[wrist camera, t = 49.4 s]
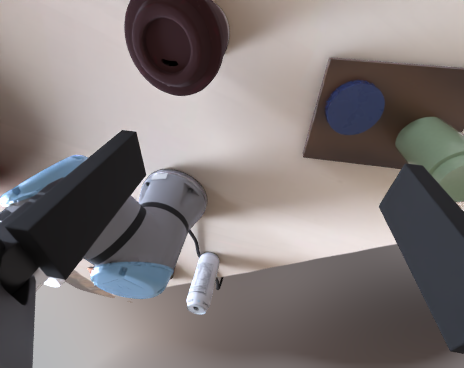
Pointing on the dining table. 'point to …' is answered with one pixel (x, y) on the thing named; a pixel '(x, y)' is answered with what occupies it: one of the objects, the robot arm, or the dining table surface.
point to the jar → (435, 152)
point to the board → (385, 108)
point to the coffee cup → (177, 42)
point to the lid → (354, 107)
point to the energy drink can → (203, 283)
